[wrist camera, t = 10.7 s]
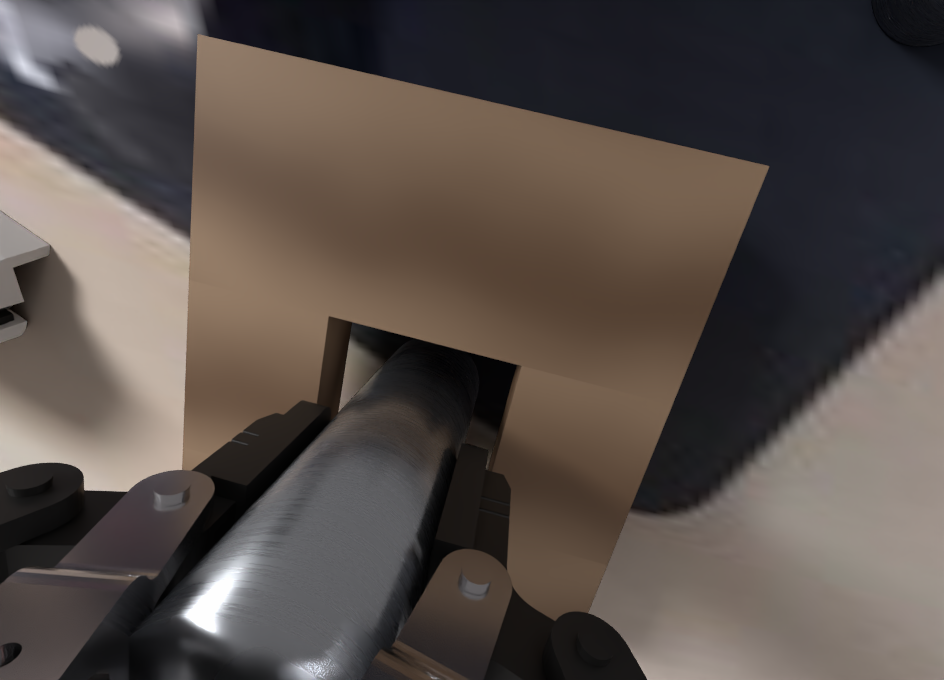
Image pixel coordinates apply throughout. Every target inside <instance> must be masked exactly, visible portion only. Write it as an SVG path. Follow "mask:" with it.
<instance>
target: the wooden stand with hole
mask: <svg viewBox="0 0 944 680" xmlns="http://www.w3.org/2000/svg"><path fill="white" fill-rule="evenodd" d="M768 168H769V166H767V165H762V164H758V163H754V162H749V161H745V160H740V159H736V158H732V157H727V156H723V155H719V154H714V153H710V152H706V151H701V150H697V149H693V148H688V147H684V146H680V145H675V144H671V143H667V142H662V141H658V140H654V139H649V138H645V137H641V136H636V135H632V134H628V133H623V132H619V131H615V130H610V129H606V128H602V127H597V126H593V125H589V124H584V123H580V122H576V121H571V120H567V119H563V118H558V117H554V116H550V115H545V114H541V113H537V112H532V111H528V110H524V109H519V108H515V107H511V106H506V105H502V104H498V103H493V102H489V101H485V100H480V99H476V98H472V97H467V96H463V95H459V94H454V93H450V92H446V91H441V90H437V89H433V88H428V87H424V86H420V85H415V84H411V83H407V82H402V81H398V80H394V79H389V78H385V77H381V76H376V75H372V74H368V73H363V72H359V71H355V70H350V69H346V68H342V67H337V66H333V65H329V64H324V63H320V62H316V61H311V60H307V59H303V58H298V57H294V56H290V55H285V54H281V53H277V52H272V51H268V50H264V49H259V48H255V47H251V46H246V45H242V44H238V43H233V42H229V41H225V40H220V39H216V38H212V37H207V36H203V35H199V34H198V42H197V70H196V98H195V126H194V154H193V182H192V210H191V238H190V267H189V295H188V323H187V351H186V379H185V407H184V435H183V463H182V470H190V471H191V470H192V469H194V468H195V467H196V466H197V465H199V464H200V463H201V462H203V461H204V460H205V459H207V458H208V457H209V456H210V455H212V454H213V453H214V452H216V451H217V450H218V449H219V448H221V447H222V446H223V445H225V444H226V443H227V442H229V441H230V442H231V440H232V438H234V437H235V436H236V435H238V434H239V433H240V432H241V433H242V432H243V430H244V429H245V428H247V427H248V426H249V425H251V424H252V423H253V422H255V421H256V420H257V419H260V418H263V417H266V416H268V415H271V414H274V413H279V414H283V415H284V414H285V413H286V412H288V411H289V410H290V409H291V408H292V407H293V406H295V405H296V404H297V403H298V402H300V401H301V400H305V401H308V402H312V403H316V404H319V405H323V406H327V407H330V408H331V420H332V419H333V418H334V417H335V416H336V415H337V414H338V410H339V404H340V397H341V391H342V384H343V378H344V371H345V364H346V358H347V351H348V345H349V338H350V332H351V325H352V322H354V323H358V324H362V325H365V326H369V327H373V328H377V329H381V330H385V331H389V332H392V333H396V334H400V335H404V336H408V337H412V338H416V339H420V340H423V341H427V342H431V343H435V344H439V345H443V346H447V347H450V348H454V349H458V350H462V351H466V352H470V353H474V354H478V355H481V356H485V357H489V358H493V359H497V360H501V361H505V362H508V363H512V364H516V365H517V367H516V370H515V374H514V377H513V381H512V384H511V388H510V392H509V395H508V399H507V402H506V406H505V409H504V413H503V417H502V420H501V424H500V427H499V431H498V434H497V438H496V442H495V445H494V449H493V452H492V456H491V460H490V463H489V467H488V470H489V471H492V472H496V473H500V474H503V475H504V476H505V478H506V480H507V482H508V484H509V486H510V488H511V501H510V516H509V538H508V557H507V572H508V573H509V576H510V578H511V581H512V586H513V588H514V589H515V591H516V592H517V593H518V595H519V596H520V597H521V598H522V599H523V600H524V601H525V602H526V603H528V604H529V605H530V606H532V607H533V608H535V609H536V610H538V611H539V612H541V613H543V614H544V615H546V616H548V617H549V618H551V619H553V620H554V621H556V620H557V619H558V617H560V616H561V615H562V614H565V613H567V612H573V611H579V612H585V613H588V612H589V609H590V607H591V604H592V602H593V599H594V597H595V594H596V592H597V589H598V587H599V584H600V582H601V580H602V577H603V575H604V572H605V570H606V567H607V565H608V562H609V560H610V557H611V555H612V552H613V550H614V548H615V545H616V543H617V540H618V538H619V535H620V533H621V530H622V528H623V525H624V523H625V520H626V518H627V515H628V513H629V511H630V508H631V506H632V503H633V501H634V498H635V496H636V493H637V491H638V488H639V486H640V483H641V481H642V479H643V476H644V474H645V471H646V469H647V466H648V464H649V461H650V459H651V456H652V454H653V451H654V449H655V447H656V444H657V442H658V439H659V437H660V434H661V432H662V429H663V427H664V424H665V422H666V419H667V417H668V415H669V412H670V410H671V407H672V405H673V402H674V400H675V397H676V395H677V392H678V390H679V387H680V385H681V383H682V380H683V378H684V375H685V373H686V370H687V368H688V365H689V363H690V360H691V358H692V355H693V353H694V351H695V348H696V346H697V343H698V341H699V338H700V336H701V333H702V331H703V328H704V326H705V323H706V321H707V319H708V316H709V314H710V311H711V309H712V306H713V304H714V301H715V299H716V296H717V294H718V291H719V289H720V287H721V284H722V282H723V279H724V277H725V274H726V272H727V269H728V267H729V264H730V262H731V259H732V257H733V255H734V252H735V250H736V247H737V245H738V242H739V240H740V237H741V235H742V232H743V230H744V227H745V225H746V223H747V220H748V218H749V215H750V213H751V210H752V208H753V205H754V203H755V200H756V198H757V195H758V193H759V191H760V188H761V186H762V183H763V181H764V178H765V176H766V173H767V171H768Z"/></svg>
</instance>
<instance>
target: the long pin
mask: <svg viewBox="0 0 944 680" xmlns="http://www.w3.org/2000/svg"><path fill="white" fill-rule="evenodd" d="M478 390H479V374H478V370H477V367H476V365H475V363H474V361H473V359H472V357H471V356H470V355H469V353H468V352H466V351H462V350H458V349H454V348H450V347H447V346H443V345H439V344H435V343H431V342H427V341H423V340H420V339H416V338H414V339H412V340H410V341H408V342H406V343H405V344H403V345H402V346H401V347H400V348H399V349H398V350H397V351H396V352H395V353H394V354H393V355H392V356H391V357H390V358H389V359H388V360H387V361H386V363H385V364H384V365H383V366H382V367H381V368H380V369H379V370H378V371H377V372H376V373H375V374H374V375H373V376H372V377H371V379H370V380H369V381H368V382H367V383H366V384H365V385H364V386H363V387H362V388H361V389H360V390H359V391H358V392H357V393H356V395H355V396H354V397H353V398H352V399H351V400H350V401H349V402H348V403H347V404H346V405H345V406H344V407H343V408H342V409H341V411H340V412H339V413H338V414H337V415H336V416H335V417H334V418H333V419H332V420H331V421H330V422H329V423H328V424H327V425H326V427H325V428H324V429H323V430H322V431H321V432H320V433H319V434H318V435H317V436H316V437H315V438H314V439H313V440H312V441H311V443H310V444H309V445H308V446H307V447H306V448H305V449H304V450H303V451H302V452H301V453H300V454H299V455H298V456H297V457H296V459H295V460H294V461H293V462H292V463H291V464H290V465H289V466H288V467H287V468H286V469H285V470H284V471H283V472H282V473H281V475H280V476H279V477H278V478H277V479H276V480H275V481H274V482H273V483H272V484H271V485H270V486H269V487H268V488H267V489H266V491H265V492H264V493H263V494H262V495H261V496H260V497H259V498H258V499H257V500H256V501H255V502H254V503H253V504H252V505H251V507H250V508H249V509H248V510H247V511H246V512H245V513H244V514H243V515H242V516H241V517H240V518H239V519H238V520H237V522H236V523H235V524H234V525H233V526H232V527H231V528H230V529H229V530H228V531H227V532H226V533H225V534H224V535H223V536H222V538H221V539H220V540H219V541H218V542H217V543H216V544H215V545H214V546H213V547H212V548H211V549H210V550H209V551H208V552H207V554H206V555H205V556H204V557H203V558H202V559H201V560H200V561H199V562H198V563H197V564H196V565H195V566H194V567H193V568H192V570H191V571H190V572H189V573H188V574H187V575H186V576H185V577H184V578H183V579H182V580H181V581H180V582H179V583H178V584H177V586H176V587H175V588H174V589H173V590H172V591H171V592H170V593H169V594H168V595H167V596H166V597H165V598H164V599H163V600H162V602H161V603H160V604H159V605H158V606H157V607H156V608H155V609H154V610H153V611H152V612H151V613H150V614H149V615H148V616H147V618H146V619H145V620H144V621H143V622H142V623H141V624H140V625H139V626H138V627H137V628H136V630H135V631H134V632H133V633H132V634H131V635H130V636H129V637H128V673H129V680H361V679H362V677H363V676H364V674H365V672H366V671H367V669H368V667H369V666H370V664H371V663H372V661H373V659H374V658H375V656H376V655H377V654H378V652H379V651H380V650H381V649H382V648H383V647H384V646H387V647H389V648H391V646H392V645H393V644H394V642H395V640H396V639H397V637H398V635H399V634H400V632H401V630H402V628H403V627H404V625H405V623H406V622H407V620H408V618H409V616H410V615H411V613H412V611H413V610H414V608H415V606H416V604H417V603H418V601H419V599H420V597H421V596H422V594H423V592H424V591H425V589H426V584H427V569H428V565H429V561H430V557H431V553H432V549H433V545H434V541H435V537H436V534H437V530H438V527H439V523H440V519H441V516H442V512H443V509H444V505H445V501H446V498H447V494H448V491H449V487H450V483H451V480H452V476H453V473H454V469H455V465H456V462H457V458H458V455H459V451H460V447H461V444H462V443H464V444H465V440H466V436H467V432H468V428H469V425H470V421H471V417H472V413H473V410H474V406H475V402H476V398H477V395H478Z"/></svg>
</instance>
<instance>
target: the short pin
mask: <svg viewBox="0 0 944 680" xmlns="http://www.w3.org/2000/svg"><path fill="white" fill-rule="evenodd" d="M872 6H873V11H874V14H875V17H876V19H877V22H878V24H879V25H880V27H881V28H882V30H883V31H884V32H885V33H886V34H887V35H888V36H890V37H891V38H892V39H894V40H896V41H898V42H900V43H902V44H905V45H909V46H915V47H926V46H933V45H937V44H941V43H944V0H872Z"/></svg>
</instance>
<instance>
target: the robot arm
mask: <svg viewBox="0 0 944 680" xmlns="http://www.w3.org/2000/svg"><path fill="white" fill-rule="evenodd" d="M330 421H331V408H330V407H327V406H323V405H319V404H316V403H312V402H308V401H305V400H301V401H300V402H298V403H297V404H296V405H295V406H293V407H292V408H291V409H290V410H289V411H288V412H286V413H285V414H284V415H283V414H279V413H274V414H271V415H268V416H266V417H263V418H260V419H257V420H256V421H255V422H253V423H252V424H251V425H249V426H248V427H247V428H245V429H244V430H243V432H242V433H241V432H240V433H239V434H238V435H236V436H235V437H234V438H232V440H231V442H230V441H229V442H227V443H226V444H225V445H223V446H222V447H221V448H219V449H218V450H217V451H216V452H214V453H213V454H212V455H210V456H209V457H208V458H207V459H205V460H204V461H203V462H201V463H200V464H199V465H197V466H196V467H195V468H194V469H192V470H191V471H190V470H175V471H167V472H162V473H159V474H155V475H153V476H150V477H148V478H146V479H144V480H142V481H140V482H139V483H137V484H136V485H135V486H134V487H132V488H131V489H130V490H129V491H128V492H114V491H85V490H84V477H83V473H82V472H81V471H80V470H79V469H78V468H76V467H74V466H71V465H68V464H63V463H39V464H31V465H26V466H22V467H18V468H14V469H11V470H8V471H4V472H1V473H0V680H129V673H128V637H129V636H130V635H131V634H132V633H133V632H134V631H135V630H136V628H137V627H138V626H139V625H140V624H141V623H142V622H143V621H144V620H145V619H146V618H147V616H148V615H149V614H150V613H151V612H152V611H153V610H154V609H155V608H156V607H157V606H158V605H159V604H160V603H161V602H162V600H163V599H164V598H165V597H166V596H167V595H168V594H169V593H170V592H171V591H172V590H173V589H174V588H175V587H176V586H177V584H178V583H179V582H180V581H181V580H182V579H183V578H184V577H185V576H186V575H187V574H188V573H189V572H190V571H191V570H192V568H193V567H194V566H195V565H196V564H197V563H198V562H199V561H200V560H201V559H202V558H203V557H204V556H205V555H206V554H207V552H208V551H209V550H210V549H211V548H212V547H213V546H214V545H215V544H216V543H217V542H218V541H219V540H220V539H221V538H222V536H223V535H224V534H225V533H226V532H227V531H228V530H229V529H230V528H231V527H232V526H233V525H234V524H235V523H236V522H237V520H238V519H239V518H240V517H241V516H242V515H243V514H244V513H245V512H246V511H247V510H248V509H249V508H250V507H251V505H252V504H253V503H254V502H255V501H256V500H257V499H258V498H259V497H260V496H261V495H262V494H263V493H264V492H265V491H266V489H267V488H268V487H269V486H270V485H271V484H272V483H273V482H274V481H275V480H276V479H277V478H278V477H279V476H280V475H281V473H282V472H283V471H284V470H285V469H286V468H287V467H288V466H289V465H290V464H291V463H292V462H293V461H294V460H295V459H296V457H297V456H298V455H299V454H300V453H301V452H302V451H303V450H304V449H305V448H306V447H307V446H308V445H309V444H310V443H311V441H312V440H313V439H314V438H315V437H316V436H317V435H318V434H319V433H320V432H321V431H322V430H323V429H324V428H325V427H326V425H327V424H328V423H329V422H330ZM487 456H488V450H486V449H482V448H478V447H475V446H471V445H467V444H464V443H462V444H461V447H460V451H459V455H458V458H457V462H456V465H455V469H454V473H453V476H452V480H451V483H450V487H449V491H448V494H447V498H446V501H445V505H444V509H443V512H442V516H441V519H440V523H439V527H438V530H437V534H436V537H435V541H434V545H433V549H432V553H431V557H430V561H429V565H428V569H427V584H426V589H425V591H424V592H423V594H422V596H421V597H420V599H419V601H418V603H417V604H416V606H415V608H414V610H413V611H412V613H411V615H410V616H409V618H408V620H407V622H406V623H405V625H404V627H403V628H402V630H401V632H400V634H399V635H398V637H397V639H396V640H395V642H394V644H393V645H392V646H391V648H389V647H387V646H384V647H383V648H382V649H381V650H380V651H379V652H378V654H377V655H376V656H375V658H374V659H373V661H372V663H371V664H370V666H369V667H368V669H367V671H366V672H365V674H364V676H363V677H362V679H361V680H647V679H646V677H645V675H644V673H643V672H642V670H641V668H640V666H639V664H638V663H637V661H636V659H635V657H634V656H633V654H632V652H631V650H630V649H629V647H628V645H627V644H626V642H625V641H624V639H623V638H622V637H621V636H620V634H619V633H618V632H617V631H616V630H615V629H614V628H613V627H611V626H610V625H609V624H608V623H606V622H605V621H603V620H602V619H600V618H598V617H596V616H594V615H591V614H589V613H585V612H579V611H573V612H567V613H565V614H562V615H561V616H560V617H558V619H557V620H556V621H554V620H553V619H551V618H549V617H548V616H546V615H544V614H543V613H541V612H539V611H538V610H536V609H535V608H533V607H532V606H530V605H529V604H528V603H526V602H525V601H524V600H523V599H522V598H521V597H520V596H519V595H518V593H517V592H516V591H515V589H514V588H513V586H512V581H511V578H510V576H509V573H508V572H507V557H508V538H509V516H510V501H511V488H510V486H509V484H508V482H507V480H506V478H505V476H504V475H503V474H500V473H496V472H492V471H489V470H485V469H486V463H487Z"/></svg>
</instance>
